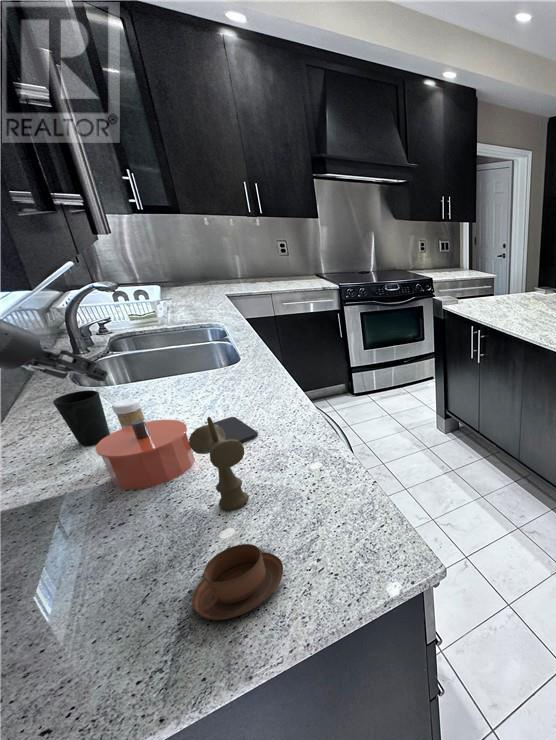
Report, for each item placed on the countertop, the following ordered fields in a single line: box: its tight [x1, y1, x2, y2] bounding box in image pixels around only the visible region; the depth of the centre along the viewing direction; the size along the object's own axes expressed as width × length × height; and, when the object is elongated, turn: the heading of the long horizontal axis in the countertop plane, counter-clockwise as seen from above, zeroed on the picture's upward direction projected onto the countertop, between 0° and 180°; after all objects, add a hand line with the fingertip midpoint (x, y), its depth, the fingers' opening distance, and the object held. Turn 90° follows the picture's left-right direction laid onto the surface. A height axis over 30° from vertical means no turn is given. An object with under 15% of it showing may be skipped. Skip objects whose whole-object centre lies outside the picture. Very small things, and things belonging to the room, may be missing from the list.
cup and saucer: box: [191, 543, 284, 621], centre depth 63 cm, size 12×12×6 cm
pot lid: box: [94, 419, 188, 458], centre depth 84 cm, size 15×15×5 cm
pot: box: [101, 432, 196, 491], centre depth 87 cm, size 14×14×10 cm
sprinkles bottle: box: [111, 398, 147, 429], centre depth 94 cm, size 5×5×14 cm
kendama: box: [188, 416, 250, 511], centre depth 78 cm, size 6×10×20 cm, turn 55°
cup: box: [52, 389, 111, 447], centre depth 98 cm, size 8×8×12 cm
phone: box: [213, 416, 259, 443], centre depth 106 cm, size 7×1×15 cm
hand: (85, 375), depth 83 cm, fingers open, 8 cm apart
